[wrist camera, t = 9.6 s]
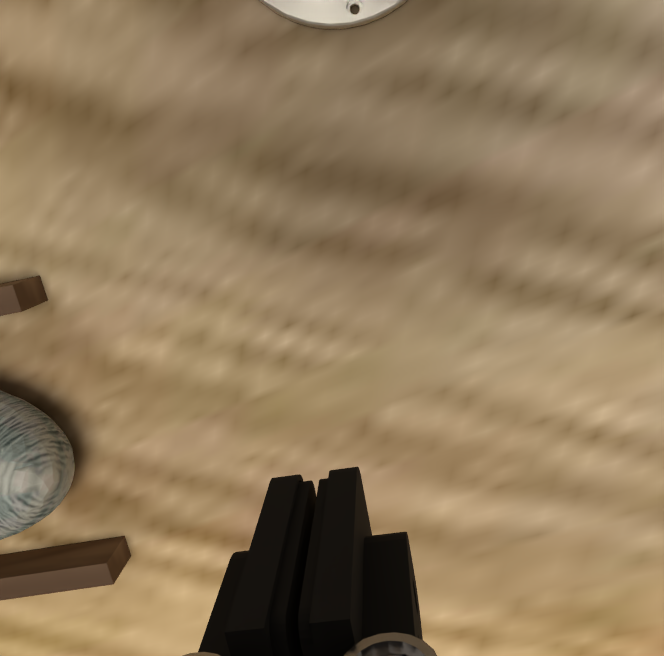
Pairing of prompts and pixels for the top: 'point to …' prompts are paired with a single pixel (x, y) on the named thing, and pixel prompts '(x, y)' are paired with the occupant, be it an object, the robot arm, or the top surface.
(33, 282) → the guide channel
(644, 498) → the top surface
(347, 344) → the top surface
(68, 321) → the top surface
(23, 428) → the grey rounded piece
